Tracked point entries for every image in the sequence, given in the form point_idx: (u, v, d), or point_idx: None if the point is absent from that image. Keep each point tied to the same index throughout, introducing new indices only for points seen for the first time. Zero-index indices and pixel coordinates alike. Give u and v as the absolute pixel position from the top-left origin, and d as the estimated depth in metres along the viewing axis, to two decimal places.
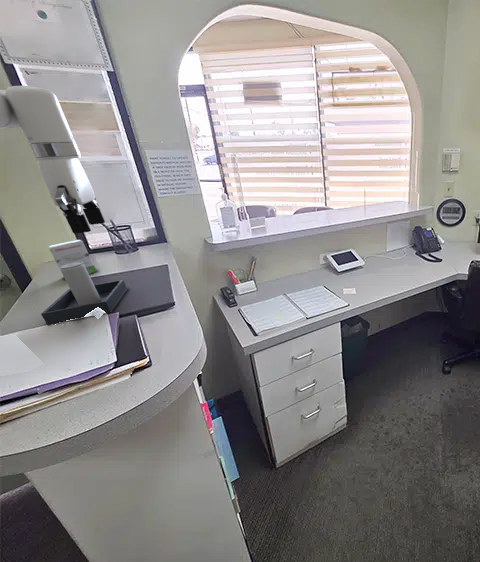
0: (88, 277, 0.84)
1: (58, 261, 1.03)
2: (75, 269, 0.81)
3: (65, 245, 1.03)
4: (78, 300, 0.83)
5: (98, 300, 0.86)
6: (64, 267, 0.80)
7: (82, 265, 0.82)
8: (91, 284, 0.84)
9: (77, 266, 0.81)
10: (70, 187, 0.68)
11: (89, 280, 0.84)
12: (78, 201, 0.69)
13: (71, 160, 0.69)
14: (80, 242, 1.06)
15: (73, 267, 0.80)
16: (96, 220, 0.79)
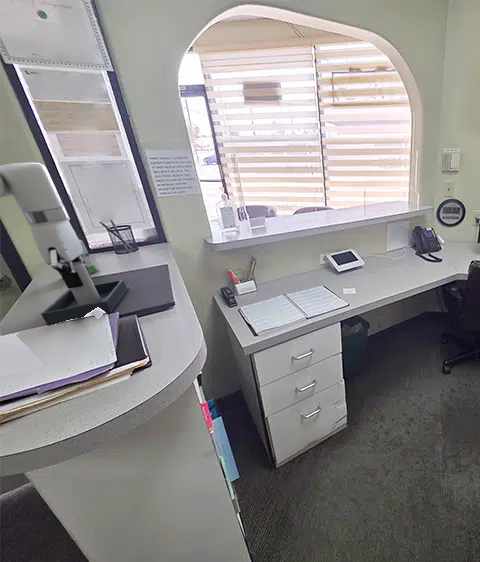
0: (88, 277, 0.84)
1: None
2: (75, 269, 0.81)
3: None
4: (78, 300, 0.83)
5: (98, 300, 0.86)
6: None
7: (82, 265, 0.82)
8: (91, 284, 0.84)
9: (77, 266, 0.81)
10: (59, 248, 0.75)
11: (89, 280, 0.84)
12: (66, 259, 0.77)
13: (60, 223, 0.76)
14: (80, 242, 1.06)
15: None
16: None
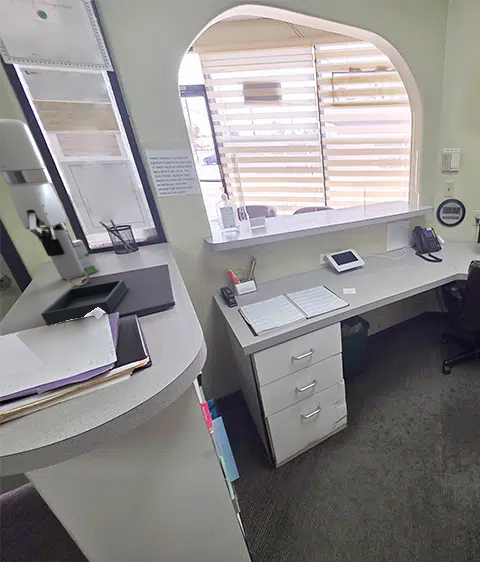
0: (70, 246, 0.80)
1: None
2: (56, 236, 0.77)
3: None
4: (59, 270, 0.79)
5: (81, 271, 0.82)
6: None
7: (64, 233, 0.78)
8: (73, 254, 0.80)
9: (59, 233, 0.77)
10: (39, 211, 0.72)
11: (71, 249, 0.80)
12: (47, 224, 0.73)
13: (41, 186, 0.73)
14: (80, 242, 1.06)
15: None
16: None
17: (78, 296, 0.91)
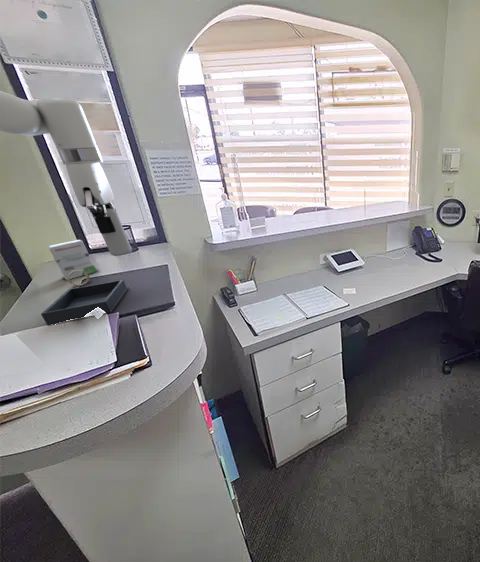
0: (120, 224, 0.82)
1: (58, 261, 1.03)
2: (108, 214, 0.79)
3: (65, 245, 1.03)
4: (110, 247, 0.82)
5: (129, 249, 0.85)
6: None
7: (114, 211, 0.81)
8: (123, 232, 0.83)
9: (110, 211, 0.80)
10: (94, 189, 0.74)
11: (121, 228, 0.82)
12: (101, 202, 0.76)
13: (94, 164, 0.75)
14: (80, 242, 1.06)
15: None
16: None
17: (78, 296, 0.91)
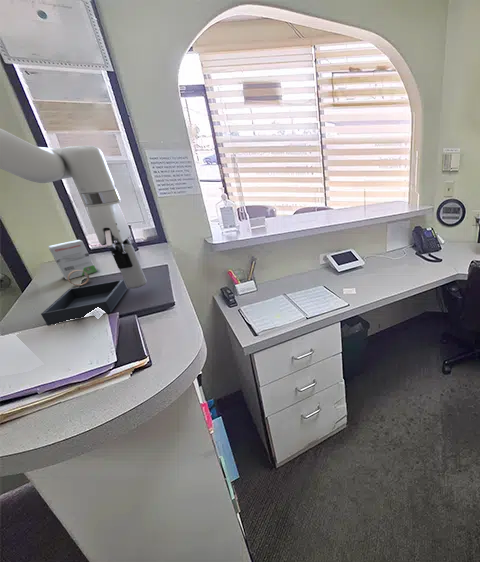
0: (136, 258, 0.87)
1: (58, 261, 1.03)
2: (125, 250, 0.83)
3: (65, 245, 1.03)
4: (127, 281, 0.86)
5: (145, 281, 0.89)
6: None
7: (131, 247, 0.85)
8: (139, 265, 0.87)
9: (127, 247, 0.84)
10: (113, 229, 0.78)
11: (137, 262, 0.87)
12: (119, 240, 0.80)
13: (113, 205, 0.79)
14: (80, 242, 1.06)
15: None
16: None
17: (78, 296, 0.91)
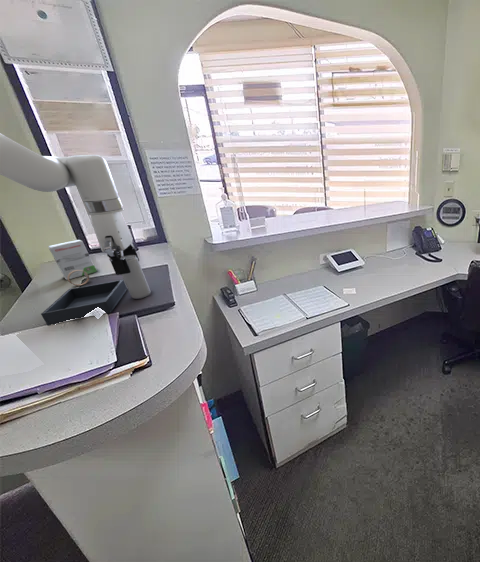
0: (141, 270, 0.88)
1: (58, 261, 1.03)
2: (130, 262, 0.85)
3: (65, 245, 1.03)
4: (131, 291, 0.88)
5: (148, 292, 0.91)
6: None
7: (136, 258, 0.87)
8: (143, 276, 0.89)
9: (132, 259, 0.85)
10: (116, 237, 0.79)
11: (141, 273, 0.88)
12: (121, 248, 0.81)
13: (116, 213, 0.80)
14: (80, 242, 1.06)
15: (128, 260, 0.85)
16: None
17: (78, 296, 0.91)
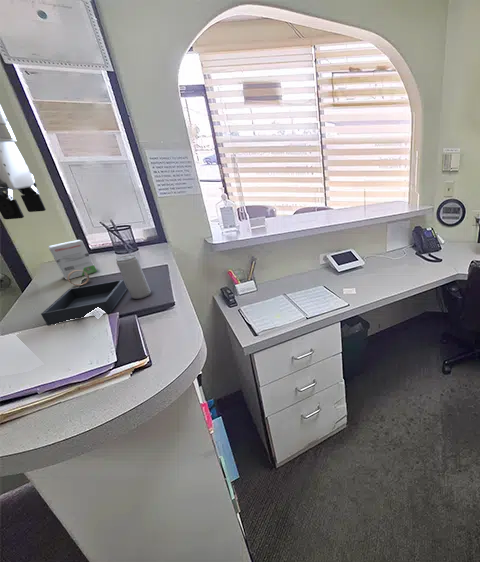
0: (141, 270, 0.88)
1: (58, 261, 1.03)
2: (130, 262, 0.85)
3: (65, 245, 1.03)
4: (131, 291, 0.88)
5: (148, 292, 0.91)
6: (120, 260, 0.84)
7: (136, 258, 0.87)
8: (143, 276, 0.89)
9: (132, 259, 0.85)
10: (0, 170, 0.65)
11: (141, 273, 0.88)
12: (9, 185, 0.66)
13: (3, 143, 0.66)
14: (80, 242, 1.06)
15: (128, 260, 0.85)
16: (35, 207, 0.76)
17: (78, 296, 0.91)
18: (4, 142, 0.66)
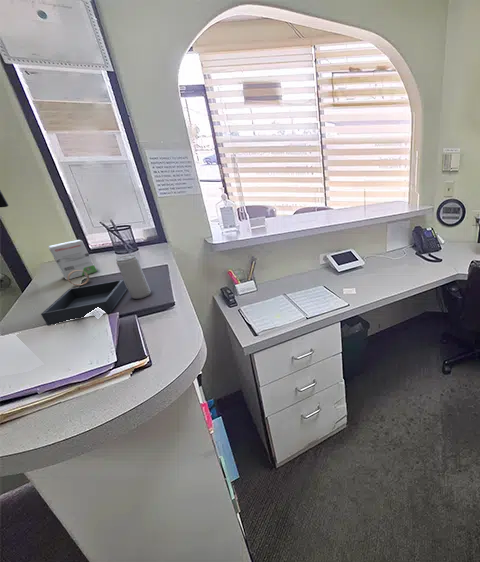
0: (141, 270, 0.88)
1: (58, 261, 1.03)
2: (130, 262, 0.85)
3: (65, 245, 1.03)
4: (131, 291, 0.88)
5: (148, 292, 0.91)
6: (120, 260, 0.84)
7: (136, 258, 0.87)
8: (143, 276, 0.89)
9: (132, 259, 0.85)
10: None
11: (141, 273, 0.88)
12: None
13: None
14: (80, 242, 1.06)
15: (128, 260, 0.85)
16: None
17: (78, 296, 0.91)
18: None
